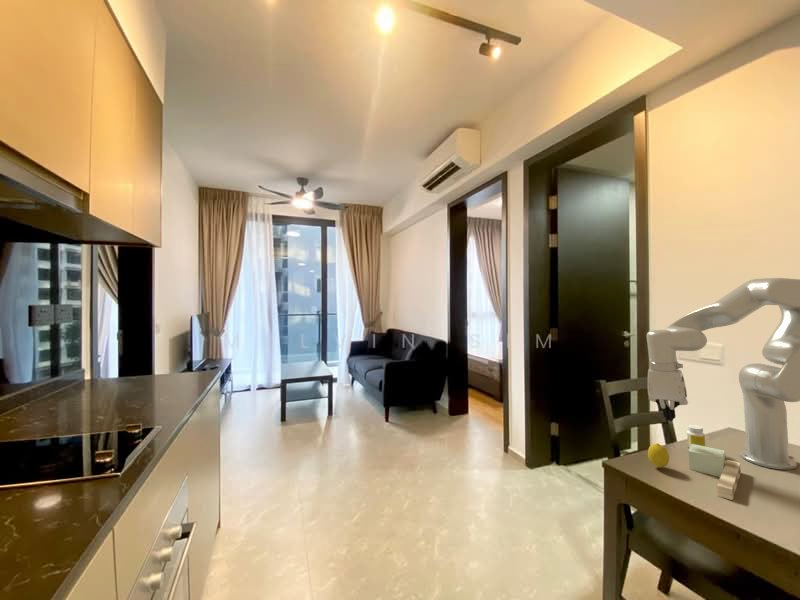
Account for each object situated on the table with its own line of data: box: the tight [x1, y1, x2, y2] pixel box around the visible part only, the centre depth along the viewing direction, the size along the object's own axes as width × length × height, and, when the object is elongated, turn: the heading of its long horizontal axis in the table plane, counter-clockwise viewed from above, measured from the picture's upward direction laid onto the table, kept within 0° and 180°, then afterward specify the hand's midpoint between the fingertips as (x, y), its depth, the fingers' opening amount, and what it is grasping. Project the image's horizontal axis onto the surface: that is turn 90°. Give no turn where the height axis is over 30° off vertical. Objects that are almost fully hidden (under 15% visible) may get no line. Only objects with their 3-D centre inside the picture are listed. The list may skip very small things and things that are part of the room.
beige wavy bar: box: [716, 459, 742, 501], centre depth 101 cm, size 20×3×3 cm, turn 131°
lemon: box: [647, 443, 670, 469], centre depth 112 cm, size 6×6×8 cm
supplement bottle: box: [686, 424, 706, 450], centre depth 122 cm, size 5×5×8 cm
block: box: [688, 444, 726, 478], centre depth 109 cm, size 7×8×6 cm
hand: (669, 419), depth 117 cm, fingers closed
